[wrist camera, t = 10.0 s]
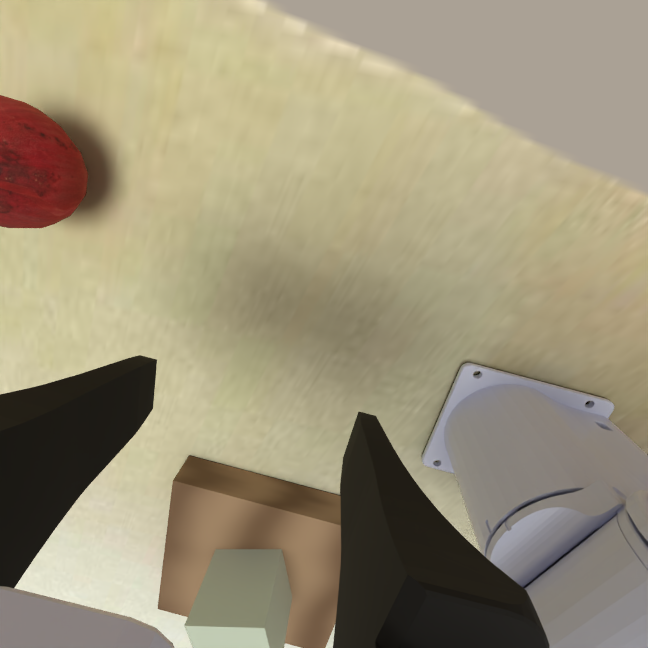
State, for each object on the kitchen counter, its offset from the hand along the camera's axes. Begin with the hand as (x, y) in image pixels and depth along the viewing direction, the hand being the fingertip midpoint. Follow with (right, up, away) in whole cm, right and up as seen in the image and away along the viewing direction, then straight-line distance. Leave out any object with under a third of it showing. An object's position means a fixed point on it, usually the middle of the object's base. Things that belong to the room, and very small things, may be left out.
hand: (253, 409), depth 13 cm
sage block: (-3, -16, +15) cm, 22 cm away
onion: (-12, +12, +8) cm, 19 cm away
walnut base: (-3, -15, +17) cm, 23 cm away
